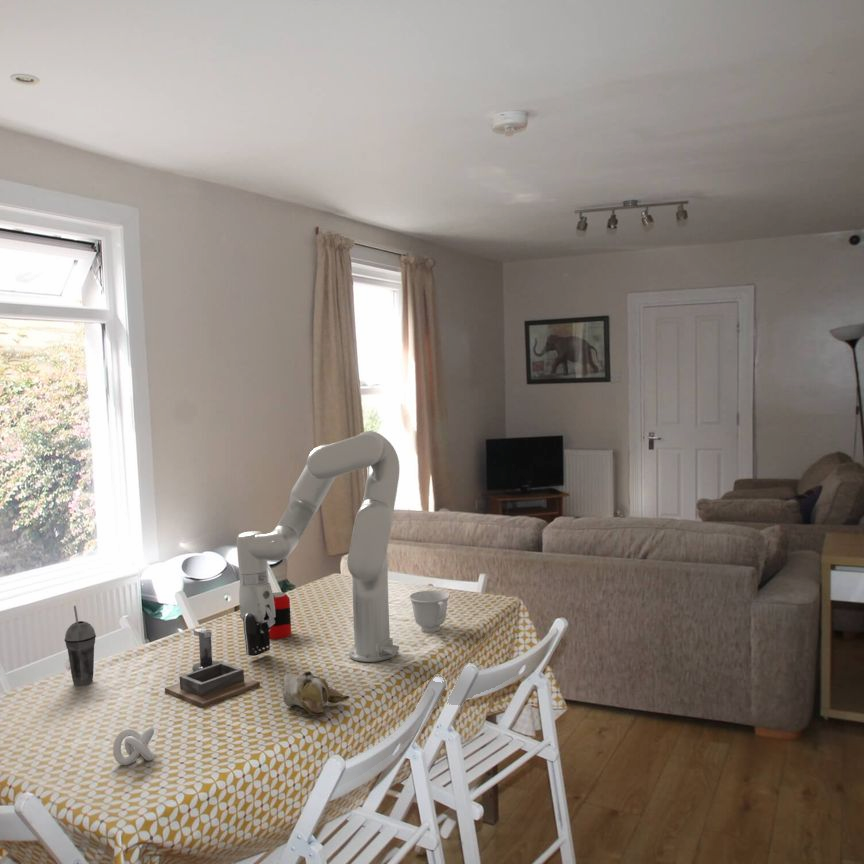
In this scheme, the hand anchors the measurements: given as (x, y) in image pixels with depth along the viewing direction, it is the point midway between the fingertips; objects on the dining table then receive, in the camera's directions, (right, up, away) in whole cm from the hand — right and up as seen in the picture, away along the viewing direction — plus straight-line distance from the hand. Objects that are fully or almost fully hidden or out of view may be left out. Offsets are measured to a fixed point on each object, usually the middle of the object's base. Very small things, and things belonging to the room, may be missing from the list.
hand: (259, 644), depth 213 cm
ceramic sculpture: (+19, -6, -34) cm, 40 cm away
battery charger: (0, -2, 0) cm, 2 cm away
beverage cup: (-41, -6, -14) cm, 44 cm away
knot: (-12, -8, -56) cm, 58 cm away
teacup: (+47, -1, +19) cm, 50 cm away
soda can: (+1, -3, +20) cm, 20 cm away
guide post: (-12, -5, -7) cm, 15 cm away
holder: (-7, -5, -21) cm, 22 cm away
